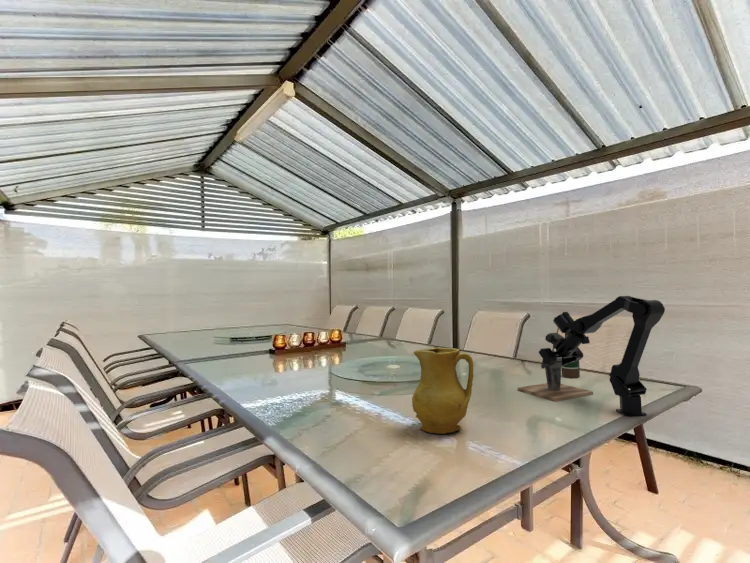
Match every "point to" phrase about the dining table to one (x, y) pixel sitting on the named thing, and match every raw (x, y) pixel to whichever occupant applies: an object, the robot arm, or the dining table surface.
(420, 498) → the dining table surface
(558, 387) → the beverage cup
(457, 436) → the dining table surface
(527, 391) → the walnut board
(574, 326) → the robot arm
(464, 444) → the dining table surface
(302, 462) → the dining table surface
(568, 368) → the beer bottle
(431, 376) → the pitcher
